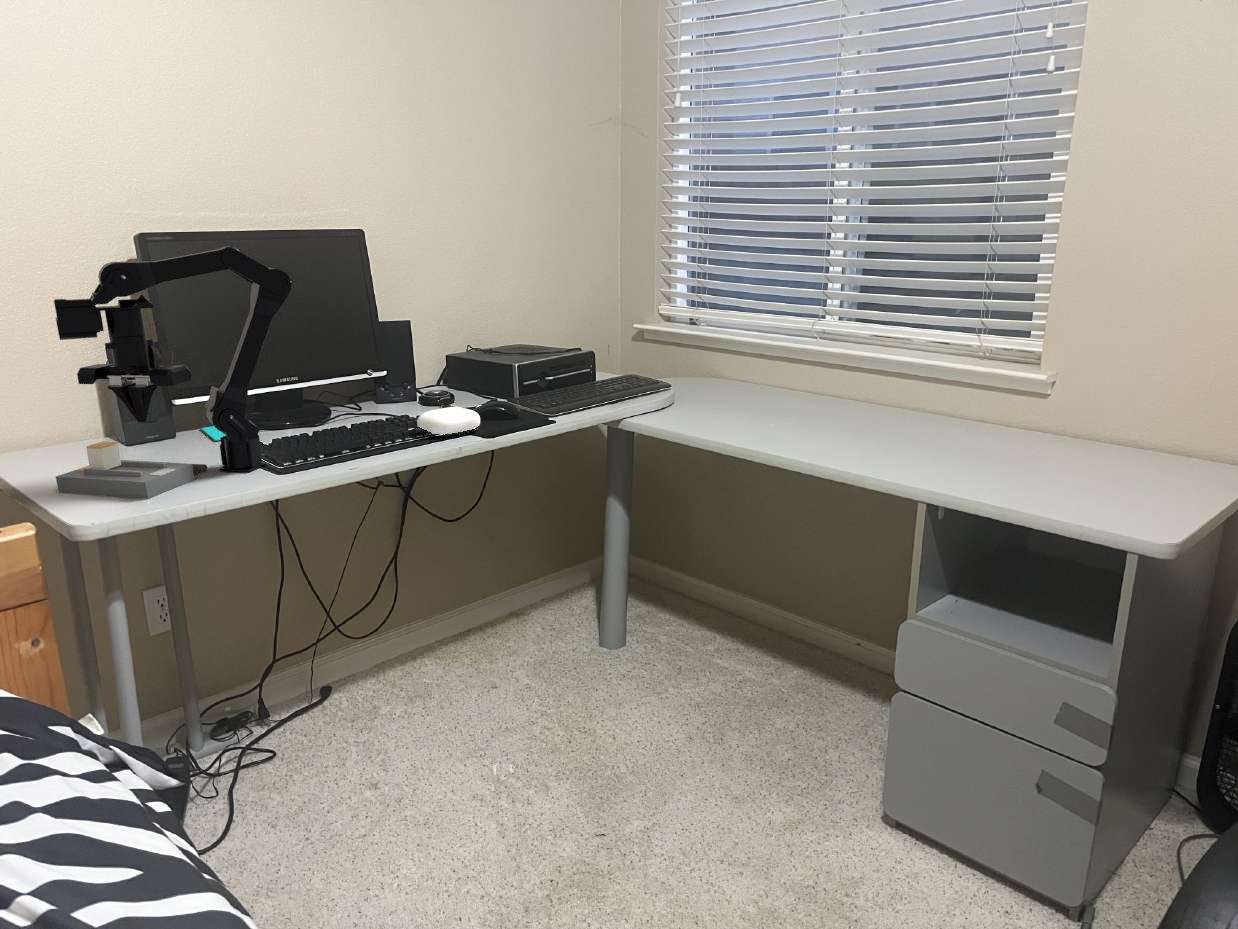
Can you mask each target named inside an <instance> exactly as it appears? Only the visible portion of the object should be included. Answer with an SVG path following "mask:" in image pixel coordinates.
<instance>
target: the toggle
mask: <svg viewBox="0 0 1238 929" xmlns="http://www.w3.org/2000/svg"><path fill="white" fill-rule="evenodd" d="M85 448H86V453H87V454H86V455H87V460H88V466H90V468H94V469H111V468H114V467H117V466H120V465H121V460H122V459H121V454H120V447H119V442H118V441H110V440H107V441H106V440H102V441H99V442H96V443H93V444H90V445H86V447H85Z"/></svg>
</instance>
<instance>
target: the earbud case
mask: <svg viewBox="0 0 1238 929" xmlns="http://www.w3.org/2000/svg"><path fill="white" fill-rule="evenodd" d="M480 416H481V415H479V413H478V412H476V411H474V410H472V409H468V408H465V407H460V406H449V407H443V408H438V409H432V410H428V411H427V410H426V411H424V412H423V413H421V414H420V415H419V417H417V420H416V422H417V423H416V424H417V427H420V428H422V429H424V430H427V431H428V432H431V433H435V434H444V435H445V434H452V433H458V432H463V431H467V430H472V429H475V428H476V427H478V426H480V425H481V417H480ZM478 428H479V427H478ZM475 430H476V429H475Z"/></svg>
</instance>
